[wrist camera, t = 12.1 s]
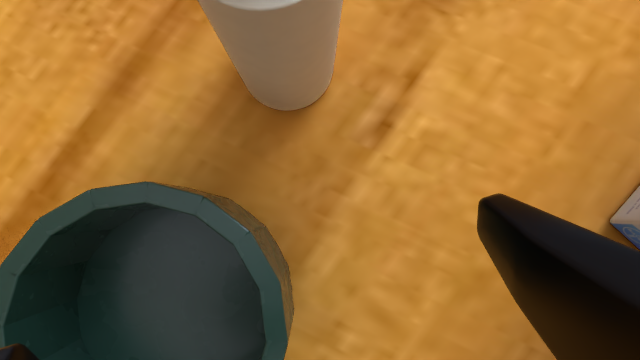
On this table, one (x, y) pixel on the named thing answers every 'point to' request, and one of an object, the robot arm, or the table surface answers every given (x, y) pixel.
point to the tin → (147, 280)
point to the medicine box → (629, 218)
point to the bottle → (279, 46)
